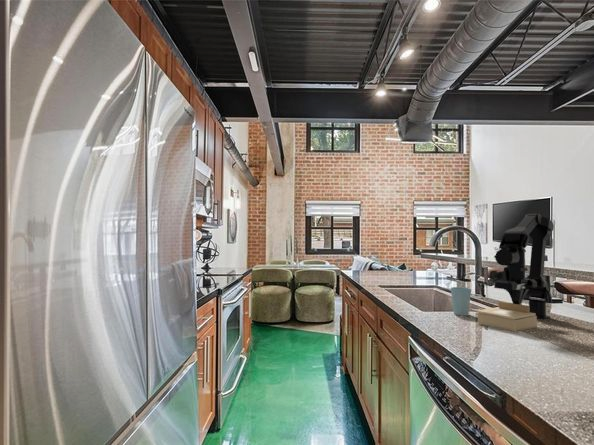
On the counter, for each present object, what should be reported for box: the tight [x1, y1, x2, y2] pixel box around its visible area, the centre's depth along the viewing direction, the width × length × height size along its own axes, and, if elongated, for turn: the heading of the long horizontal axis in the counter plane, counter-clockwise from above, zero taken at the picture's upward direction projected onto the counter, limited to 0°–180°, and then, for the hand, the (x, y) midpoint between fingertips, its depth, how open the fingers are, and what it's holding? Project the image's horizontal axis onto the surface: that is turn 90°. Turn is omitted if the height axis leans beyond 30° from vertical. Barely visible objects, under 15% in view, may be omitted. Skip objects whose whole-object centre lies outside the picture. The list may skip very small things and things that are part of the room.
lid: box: [475, 301, 536, 319], centre depth 125 cm, size 14×13×3 cm
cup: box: [450, 286, 472, 316], centre depth 145 cm, size 8×8×10 cm
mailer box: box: [477, 312, 538, 333], centre depth 126 cm, size 14×13×4 cm
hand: (516, 307), depth 129 cm, fingers closed
